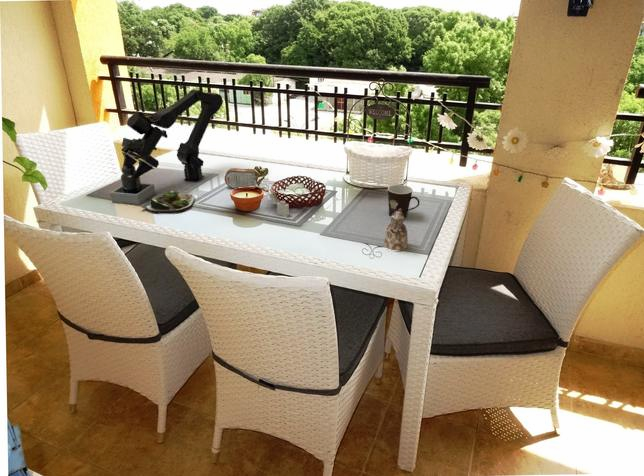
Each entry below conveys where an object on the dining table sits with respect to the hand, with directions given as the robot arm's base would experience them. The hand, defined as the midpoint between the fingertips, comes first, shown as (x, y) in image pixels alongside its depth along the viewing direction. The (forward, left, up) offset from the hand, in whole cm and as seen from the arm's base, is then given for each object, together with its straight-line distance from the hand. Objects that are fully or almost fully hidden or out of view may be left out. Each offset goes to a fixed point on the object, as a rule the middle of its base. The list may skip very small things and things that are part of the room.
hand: (128, 175), depth 173 cm
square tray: (0, 0, -9) cm, 9 cm away
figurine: (-104, +17, -10) cm, 106 cm away
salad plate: (-18, +3, -10) cm, 21 cm away
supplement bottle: (0, -1, -9) cm, 9 cm away
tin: (-39, -19, -10) cm, 44 cm away
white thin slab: (-61, +2, -10) cm, 62 cm away
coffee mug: (-104, -5, -10) cm, 104 cm away
